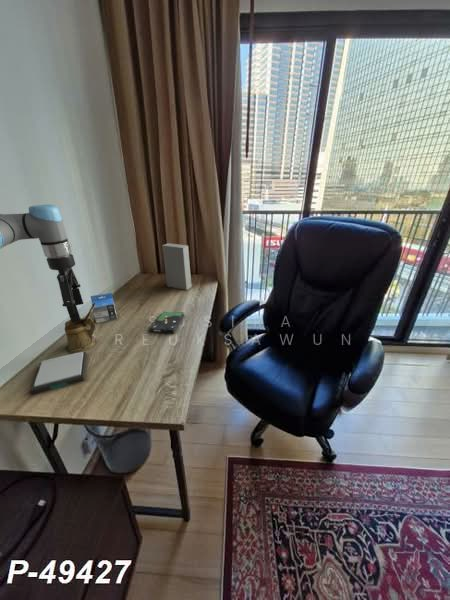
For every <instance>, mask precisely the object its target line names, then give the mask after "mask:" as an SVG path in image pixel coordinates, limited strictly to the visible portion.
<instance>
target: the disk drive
mask: <svg viewBox="0 0 450 600" xmlns="http://www.w3.org/2000/svg"><path fill="white" fill-rule="evenodd" d="M184 317H185V313H184V311H165V310H164V311H162V312H161V313H160V314H159V316H158V317H157V318H156V320H155V321H154V323H153V324H151V326H150V333H156V334H157V333H158V334H171V335H172V334H173V335H174V334H175V333H176V331H177V330H178V328H179V326H180V324H181V322H182V320H183V319H184Z"/></svg>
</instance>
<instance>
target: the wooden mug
mask: <svg viewBox="0 0 450 600" xmlns="http://www.w3.org/2000/svg"><path fill="white" fill-rule="evenodd" d="M95 305H96V304H95V303H93V305H92V304H91V307H90V309H89V311H88V313H87V314H86V315H85V317H84V318H81V317H80V319H81V321H76V322H71V319H69V320H67V321H66V322H65V323H64V333H65V334H66V340H67V345H68V346H67V350H68V351H69V352H70V353H71V354H74V353H78V352H86V351H88V350H90V348H92V347H93V346H94V345H95V343H96V342H95V339H94V337H93V334H94V332H95V330H96V322H95V321H94V320H93V318H92V317H90V316H91V314H92V313H93V309H94V307H95ZM88 325H89V327H90V328H89V329H87V327H88Z"/></svg>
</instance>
